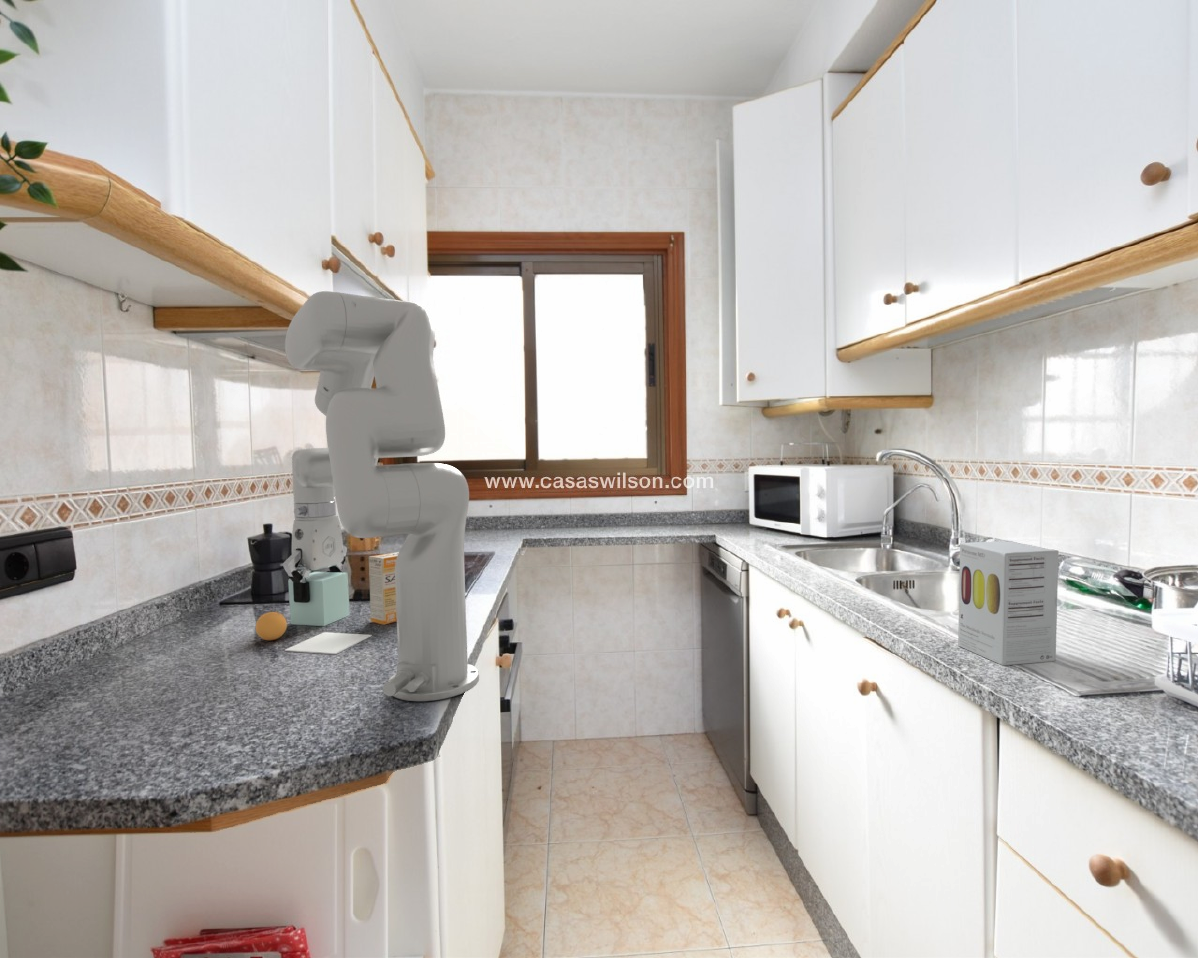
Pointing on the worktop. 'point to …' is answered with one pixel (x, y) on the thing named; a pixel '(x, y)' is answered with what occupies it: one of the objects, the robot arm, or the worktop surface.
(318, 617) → the mint foam cube
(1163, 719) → the worktop surface
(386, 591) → the supplement box
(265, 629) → the ball
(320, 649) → the tape square
